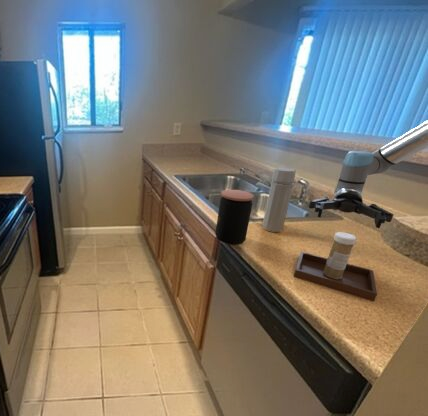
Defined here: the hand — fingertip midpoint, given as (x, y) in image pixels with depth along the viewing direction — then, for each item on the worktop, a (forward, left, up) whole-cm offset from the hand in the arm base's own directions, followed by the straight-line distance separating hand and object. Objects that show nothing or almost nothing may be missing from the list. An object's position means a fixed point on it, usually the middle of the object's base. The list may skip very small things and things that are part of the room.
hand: (348, 218), depth 82 cm
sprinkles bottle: (0, +10, -16) cm, 18 cm away
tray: (0, +10, -16) cm, 18 cm away
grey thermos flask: (+20, -15, -16) cm, 30 cm away
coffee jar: (+31, +3, -16) cm, 35 cm away
